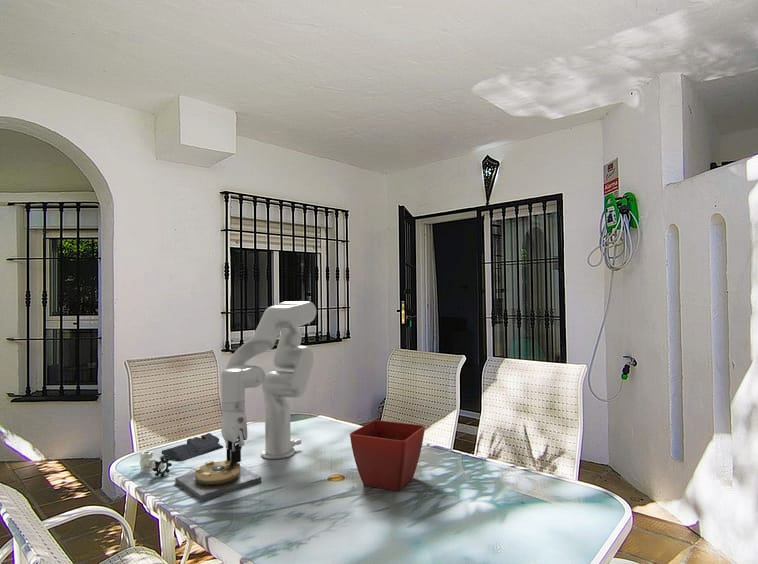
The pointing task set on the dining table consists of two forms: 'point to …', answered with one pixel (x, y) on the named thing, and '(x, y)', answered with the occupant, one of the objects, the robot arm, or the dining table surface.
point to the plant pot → (387, 453)
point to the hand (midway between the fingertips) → (233, 460)
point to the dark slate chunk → (193, 448)
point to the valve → (153, 464)
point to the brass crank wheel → (217, 472)
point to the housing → (212, 491)
